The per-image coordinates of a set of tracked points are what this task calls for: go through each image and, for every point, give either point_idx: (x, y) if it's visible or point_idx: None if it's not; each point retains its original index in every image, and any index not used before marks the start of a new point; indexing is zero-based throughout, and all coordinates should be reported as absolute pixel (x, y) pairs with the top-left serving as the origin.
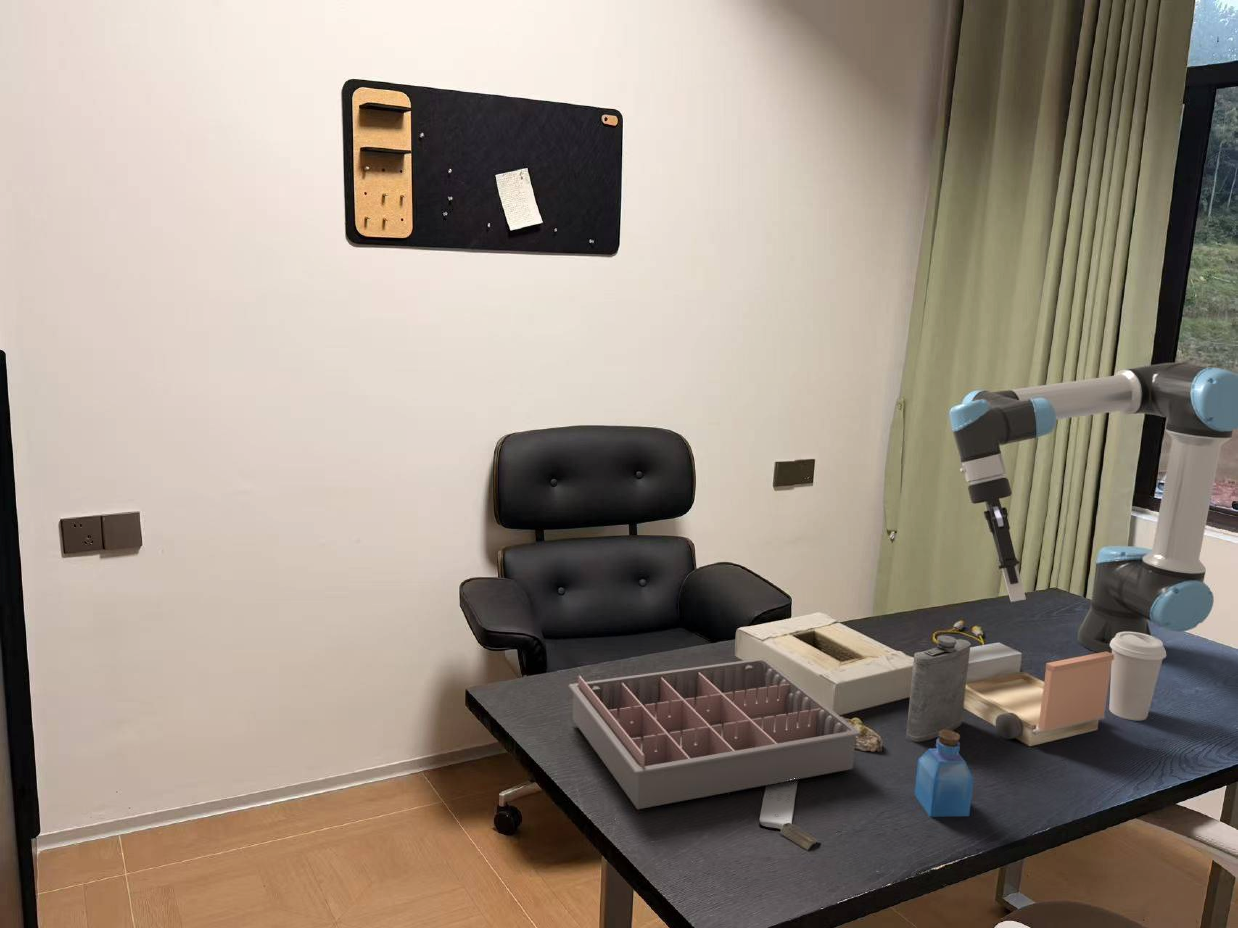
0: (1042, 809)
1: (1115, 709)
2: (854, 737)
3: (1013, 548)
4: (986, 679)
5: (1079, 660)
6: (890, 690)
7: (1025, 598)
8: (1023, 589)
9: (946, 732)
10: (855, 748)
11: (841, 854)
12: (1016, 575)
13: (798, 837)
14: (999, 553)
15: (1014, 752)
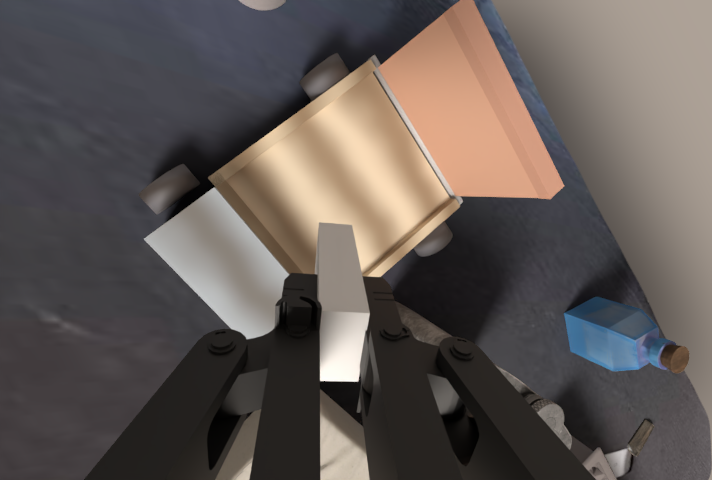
0: (576, 217)
1: (279, 2)
2: (593, 451)
3: (549, 427)
4: (287, 266)
5: (523, 112)
6: (353, 425)
7: (351, 227)
8: (355, 243)
9: (674, 363)
10: None
11: (654, 400)
12: (389, 299)
13: (647, 438)
14: (368, 469)
15: (461, 230)
